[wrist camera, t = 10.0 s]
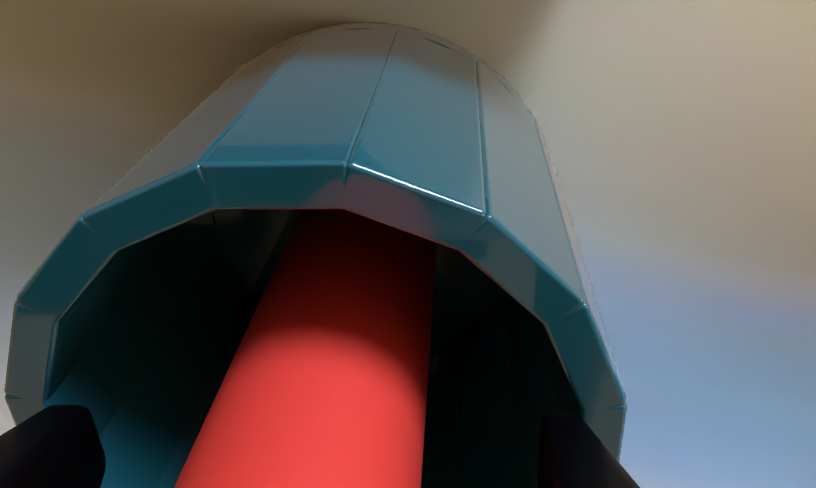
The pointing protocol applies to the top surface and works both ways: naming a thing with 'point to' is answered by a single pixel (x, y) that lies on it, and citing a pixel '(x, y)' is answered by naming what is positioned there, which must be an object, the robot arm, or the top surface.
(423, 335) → the red cylinder rod
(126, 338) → the tumbler
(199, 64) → the top surface
